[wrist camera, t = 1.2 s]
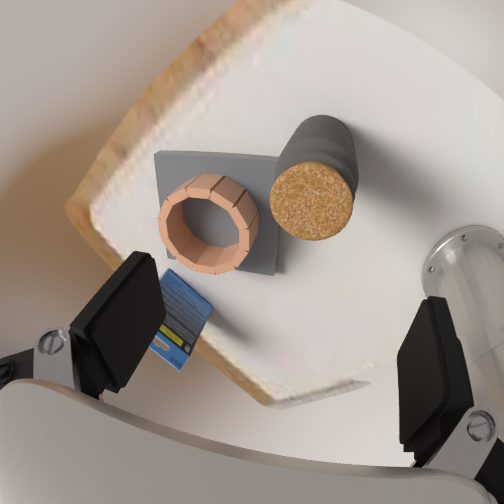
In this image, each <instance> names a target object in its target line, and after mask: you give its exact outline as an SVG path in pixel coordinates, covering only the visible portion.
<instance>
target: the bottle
mask: <svg viewBox="0 0 504 504" xmlns="http://www.w3.org/2000/svg"><path fill="white" fill-rule="evenodd" d="M357 186H358V166H357V161H356V155H355V150H354V145H353V141H352V138H351V135H350V132H349V131H348V129H347V127H346V126H345V125H344V124H343V123H342V122H341V121H339V120H338V119H336V118H333V117H331V116H327V115H317V116H313V117H310V118H308V119H306V120H305V121H304V122H302V123H301V124H300V126H299V127H298V128H297V129H296V131H295V132H294V134H293V135H292V137H291V139H290V140H289V142H288V143H287V145H286V146H285V148H284V150H283V151H282V153H281V155H280V157H279V159H278V161H277V165H276V170H275V178H274V183H273V187H272V190H271V194H270V206H271V211H272V214H273V216H274V218H275V220H276V221H277V223H278V224H279V225H280V226H281V227H282V228H283V229H284V230H285V231H286V232H288V233H289V234H291V235H293V236H295V237H298V238H301V239H304V240H313V241H315V240H323V239H327V238H329V237H332V236H334V235H336V234H337V233H339V232H340V231H341V230H342V229H343V228H344V227H345V226H346V224H347V223H348V221H349V219H350V217H351V215H352V210H353V203H354V199H355V192H356V190H357Z"/></svg>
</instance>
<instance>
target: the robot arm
mask: <svg viewBox="0 0 504 504" xmlns="http://www.w3.org/2000/svg"><path fill="white" fill-rule="evenodd" d="M422 285H423V290H424V293H425V296H426V298H427V300H426V299H424V300H423V301H422V303H421V305H420V307H419V309H418V312H417V314H416V316H415V318H414V320H413V323H412V325H411V327H410V329H409V331H408V333H407V335H406V337H405V339H404V341H403V343H402V345H401V347H400V349H399V351H398V355H397V367H398V368H397V369H398V387H399V422H400V423H399V426H400V427H399V428H400V429H399V432H400V433H399V434H400V435H399V439H400V443H401V444H404V452H414V459H415V461H414V462H413V464H411V466H410V467H384V466H366V465H352V464H341V463H340V464H339V463H330V462H321V461H313V460H306V459H299V458H293V457H287V456H280V455H275V454H270V453H264V452H260V451H255V450H250V449H246V448H241V447H237V446H232V445H228V444H225V443H221V442H217V441H213V440H209V439H205V438H202V437H199V436H195V435H192V434H189V433H186V432H182V431H179V430H176V429H173V428H170V427H167V426H164V425H161V424H158V423H155V422H153V421H150V420H147V419H144V418H141V417H139V416H136V415H133V414H131V413H129V412H126V411H124V410H121V409H119V408H116V407H114V406H111V405H109V404H107V403H104V400H103V395H102V392H103V391H104V389H107V390H110V391H112V392H114V393H118V392H119V390H120V388H123V387H125V386H126V384H127V383H128V381H129V379H130V378H131V376H132V374H133V372H134V371H135V369H136V367H137V366H138V364H139V362H140V361H141V359H142V357H143V356H144V354H145V352H146V350H147V349H148V347H149V345H150V344H151V342H152V340H153V339H154V337H155V336H156V334H157V332H158V331H159V329H160V327H161V326H162V324H163V322H164V321H165V318H166V309H165V304H164V300H163V296H162V291H161V287H160V282H159V277H158V273H157V268H156V263H155V259H154V258H152V257H151V255H150V254H149V253H145V252H139V251H134V252H133V253H132V254H131V255H130V256H129V257H128V258H127V259H126V260H125V261H124V262H123V263H122V265H121V266H120V267H119V268H118V269H117V270H116V271H115V272H114V274H113V275H112V276H111V277H110V278H109V279H108V280H107V281H106V283H105V284H104V285H103V286H102V287H101V288H100V290H99V291H98V292H97V293H96V294H95V295H94V296H93V298H92V299H91V300H90V301H89V302H88V304H87V305H86V306H85V307H84V308H83V310H82V311H81V312H80V313H79V314H78V316H77V317H76V318H75V319H74V321H73V322H72V323H71V324H70V327H71V328H70V330H69V331H67V330H66V329H64V328H62V327H51V328H49V329H46V330H45V331H43V332H42V333H41V334H40V335H39V336H38V337H37V339H36V341H35V345H34V348H32V349H29V350H26V351H23V352H20V353H17V354H14V355H10V356H7V357H4V358H2V359H0V504H504V239H503V237H502V236H501V235H500V234H499V233H498V232H496V231H495V230H493V229H491V228H489V227H485V226H468V227H463V228H461V229H458V230H456V231H454V232H452V233H450V234H449V235H447V236H446V237H444V238H443V239H442V240H441V241H440V242H439V243H438V244H437V245H436V246H435V247H434V248H433V249H432V251H431V252H430V254H429V256H428V257H427V259H426V262H425V264H424V267H423V272H422Z"/></svg>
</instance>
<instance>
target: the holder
mask: <svg viewBox="0 0 504 504" xmlns="http://www.w3.org/2000/svg"><path fill="white" fill-rule="evenodd" d="M278 159H279V157H272V156H261V155H249V154H235V153H218V152H197V151H159V152H157V153H155V154H154V160H155V170H156V178H157V187H158V195H159V202H160V212H159V215H158V225H159V231H160V237H161V238H163V239H162V241H163V243H164V244H165V246H166V250H167V256H168V258H170V259H175V260H178V261H179V262H181V263H182V264H184V265H185V266H187V267H189V268H190V269H192V270H194V268H195V271H197V272H202V273H208V274H213V275H215V274H216V273H217V275H218V274H221V273H224V272H228V271H231V270H240V271H247V272H253V273H259V274H265V275H271V276H274V274H275V270H276V263H277V247H278V230H279V224H278V223H277V221H276V220H275V218H274V216H273V214H272V211H271V206H270V194H271V190H272V187H273V183H274V178H275V170H276V165H277V161H278Z"/></svg>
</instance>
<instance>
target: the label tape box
mask: <svg viewBox="0 0 504 504" xmlns="http://www.w3.org/2000/svg"><path fill="white" fill-rule="evenodd" d="M159 282H160V287H161V291H162V296H163V300H164V304H165V309H166V318H165V321H164V322H163V324H162V326H161V327H160V329H159V331H158V332H157V334H156V336H155V337H156V338H158V339H159V340H160V341H161V342H163V343H164V344H165V345H166V346H168V347H169V349H168V350H165V349H164V348H163V347H161V346H157V345H156V343H155V341H154V340H152V342H151V344H150V345H149V348H151V349H152V350H153V351H154V352H155V353H157V354H158V355H159V356H161V357H162V358H163V359H164V360H166V361H167V362H168V363H169V364H171V365H172V366H173V367H175V368H176V369H177V370H178V371H179V372H181V370H182V368H183V366H184V365H185V363H186V361H187V360H188V358H189V356H190V355H191V353H192V351H193V348H194V346H195V344H196V342H197V340H198V338H199V336H200V334H201V332H202V330H203V328H204V326H205V324H206V322H207V320H208V318H209V316H210V313H211V311H212V309H213V306H212V305H210V304H209V303H208V302H207V301H206V300H204V299H203V298H202V297H201V296H200V295H198V294H197V293H196V292H195V291H194V290H192V289H191V288H190V287H189V286H188V285H187V284H185V283H184V282H183V281H182V280H181V279H180V278H179V277H178V276H176V275H175V274H174V273H173V272H172V271H171V270H170V269H167V270H166V271H165V272H164V273H163V274H162V275H161V277H160V278H159Z"/></svg>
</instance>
